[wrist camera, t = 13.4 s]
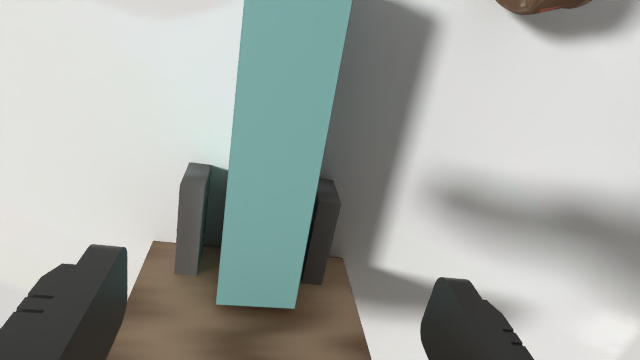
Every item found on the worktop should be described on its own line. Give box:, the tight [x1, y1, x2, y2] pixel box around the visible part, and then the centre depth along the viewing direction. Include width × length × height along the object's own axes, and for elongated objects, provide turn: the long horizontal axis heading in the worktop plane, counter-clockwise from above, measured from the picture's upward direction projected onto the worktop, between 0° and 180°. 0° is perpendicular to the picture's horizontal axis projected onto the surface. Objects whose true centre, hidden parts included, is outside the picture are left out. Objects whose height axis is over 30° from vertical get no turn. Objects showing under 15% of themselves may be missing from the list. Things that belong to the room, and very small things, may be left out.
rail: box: [216, 0, 352, 309], centre depth 21 cm, size 4×16×6 cm, turn 170°
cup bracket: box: [106, 163, 371, 360], centre depth 20 cm, size 12×7×14 cm, turn 79°
